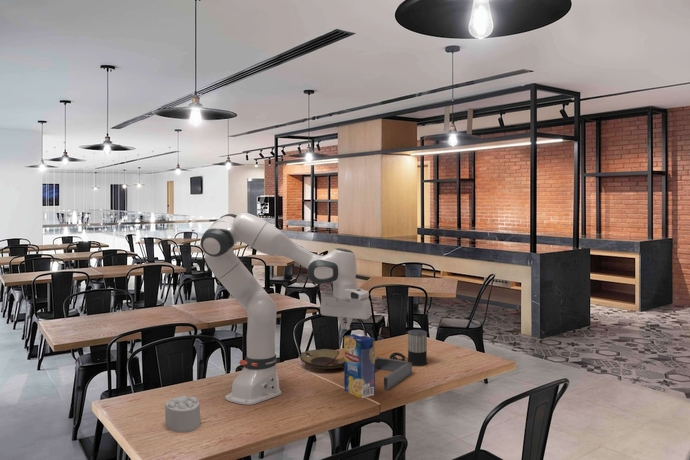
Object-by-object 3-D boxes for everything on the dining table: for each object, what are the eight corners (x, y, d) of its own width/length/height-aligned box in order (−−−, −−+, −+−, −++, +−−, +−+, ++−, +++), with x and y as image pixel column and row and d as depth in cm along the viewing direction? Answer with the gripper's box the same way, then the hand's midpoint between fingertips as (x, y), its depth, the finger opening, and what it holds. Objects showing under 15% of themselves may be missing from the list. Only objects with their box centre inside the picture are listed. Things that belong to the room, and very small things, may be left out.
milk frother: (431, 365, 249) (431, 333, 248) (400, 369, 243) (400, 336, 243) (416, 357, 262) (416, 326, 262) (386, 360, 257) (386, 329, 256)
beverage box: (358, 387, 219) (357, 333, 218) (375, 394, 210) (374, 338, 209) (344, 390, 215) (343, 335, 214) (361, 398, 206) (360, 341, 205)
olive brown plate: (331, 356, 264) (331, 341, 264) (367, 372, 239) (367, 355, 239) (290, 364, 252) (290, 347, 252) (323, 381, 227) (323, 363, 227)
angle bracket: (387, 390, 215) (387, 378, 215) (349, 383, 223) (349, 371, 223) (411, 373, 237) (411, 362, 236) (376, 367, 245) (376, 356, 245)
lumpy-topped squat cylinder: (192, 415, 191) (192, 391, 190) (205, 427, 180) (205, 402, 180) (162, 422, 185) (162, 397, 185) (173, 435, 174) (173, 408, 174)
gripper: (316, 291, 204) (317, 328, 204) (365, 295, 194) (365, 333, 194) (325, 289, 209) (326, 324, 210) (372, 292, 199) (373, 330, 200)
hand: (345, 329), depth 202 cm, fingers closed
